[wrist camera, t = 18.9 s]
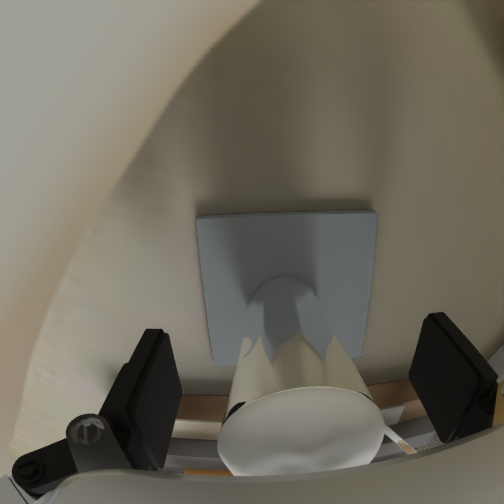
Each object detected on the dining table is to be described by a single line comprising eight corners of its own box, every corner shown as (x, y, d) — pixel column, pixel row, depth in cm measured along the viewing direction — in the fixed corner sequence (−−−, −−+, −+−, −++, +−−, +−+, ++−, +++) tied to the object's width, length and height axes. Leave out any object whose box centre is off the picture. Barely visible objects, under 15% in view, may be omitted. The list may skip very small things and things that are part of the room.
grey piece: (426, 375, 17) (447, 410, 14) (385, 466, 21) (394, 495, 18) (123, 389, 18) (106, 427, 14) (165, 476, 22) (158, 507, 19)
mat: (373, 210, 14) (377, 213, 13) (357, 351, 16) (360, 357, 16) (197, 216, 14) (195, 219, 13) (215, 359, 17) (214, 366, 16)
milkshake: (352, 327, 15) (422, 501, 6) (250, 352, 16) (243, 538, 6) (339, 245, 14) (453, 418, 4) (223, 275, 14) (175, 477, 5)
